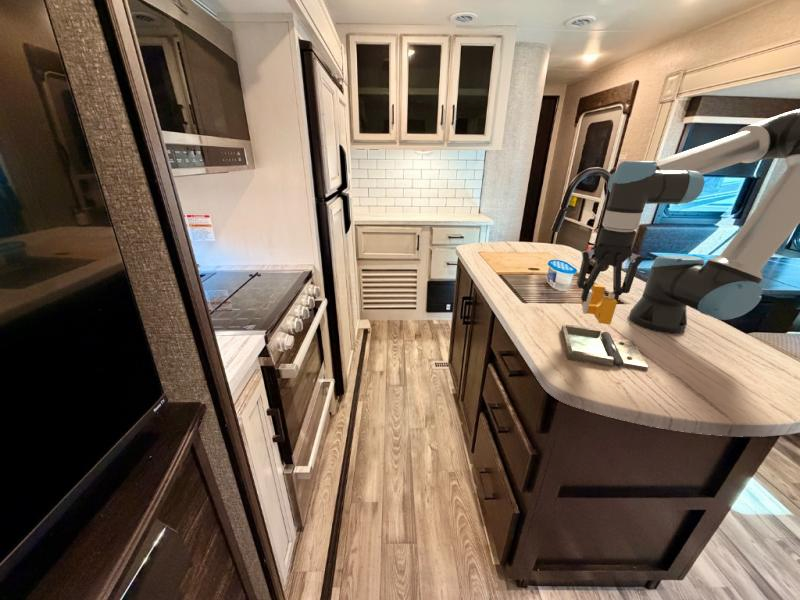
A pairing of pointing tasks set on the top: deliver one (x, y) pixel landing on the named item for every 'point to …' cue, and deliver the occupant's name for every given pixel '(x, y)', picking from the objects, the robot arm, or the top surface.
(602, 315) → the orange stepped block
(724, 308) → the robot arm
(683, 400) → the top surface
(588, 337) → the hinge base
